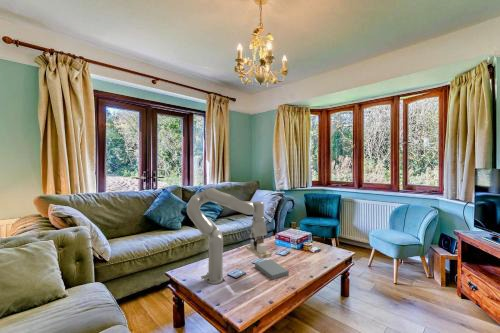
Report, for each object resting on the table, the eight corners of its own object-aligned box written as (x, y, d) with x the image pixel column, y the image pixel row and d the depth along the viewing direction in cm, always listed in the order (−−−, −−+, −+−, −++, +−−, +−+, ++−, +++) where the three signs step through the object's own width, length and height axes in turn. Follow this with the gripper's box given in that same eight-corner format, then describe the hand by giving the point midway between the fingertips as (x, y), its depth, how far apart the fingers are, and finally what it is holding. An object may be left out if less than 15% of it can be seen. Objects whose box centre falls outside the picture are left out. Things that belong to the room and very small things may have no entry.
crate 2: (260, 253, 153) (260, 246, 153) (256, 251, 157) (256, 243, 157) (266, 252, 155) (266, 244, 155) (263, 249, 160) (263, 242, 160)
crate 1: (254, 249, 161) (254, 242, 161) (250, 246, 165) (250, 240, 165) (260, 247, 163) (260, 240, 163) (256, 245, 168) (256, 238, 168)
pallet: (261, 258, 150) (261, 244, 149) (246, 248, 167) (246, 235, 167) (271, 256, 154) (271, 242, 153) (256, 246, 171) (256, 234, 171)
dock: (272, 281, 153) (272, 275, 153) (255, 268, 172) (255, 262, 172) (288, 276, 160) (288, 270, 160) (270, 264, 179) (270, 259, 179)
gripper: (250, 222, 152) (250, 249, 153) (271, 219, 161) (271, 244, 161) (245, 219, 159) (245, 245, 159) (265, 216, 167) (265, 241, 168)
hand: (258, 245), depth 160 cm, fingers closed on pallet, 4 cm apart
